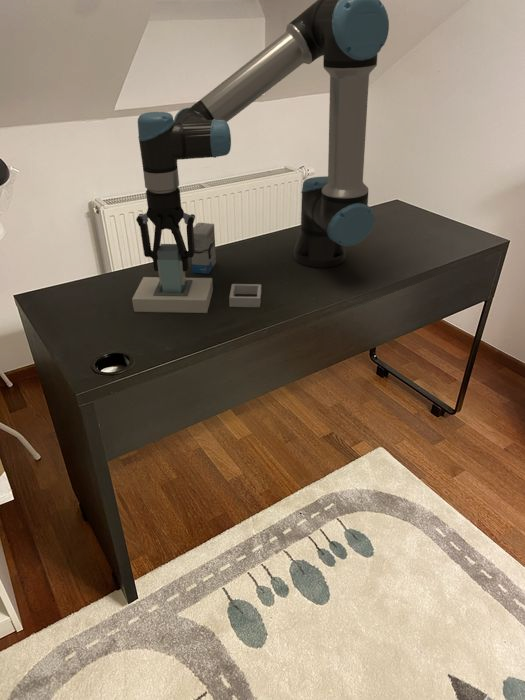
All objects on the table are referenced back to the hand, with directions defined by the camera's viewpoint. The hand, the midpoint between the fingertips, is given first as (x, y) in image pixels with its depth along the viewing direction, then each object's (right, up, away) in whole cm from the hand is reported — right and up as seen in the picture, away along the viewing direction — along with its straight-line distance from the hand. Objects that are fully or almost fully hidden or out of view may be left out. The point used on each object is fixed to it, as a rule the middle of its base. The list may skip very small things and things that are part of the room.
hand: (172, 282), depth 130 cm
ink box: (+6, +7, +19) cm, 21 cm away
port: (0, -4, +3) cm, 5 cm away
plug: (0, -2, +2) cm, 3 cm away
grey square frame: (+18, -4, +3) cm, 19 cm away
